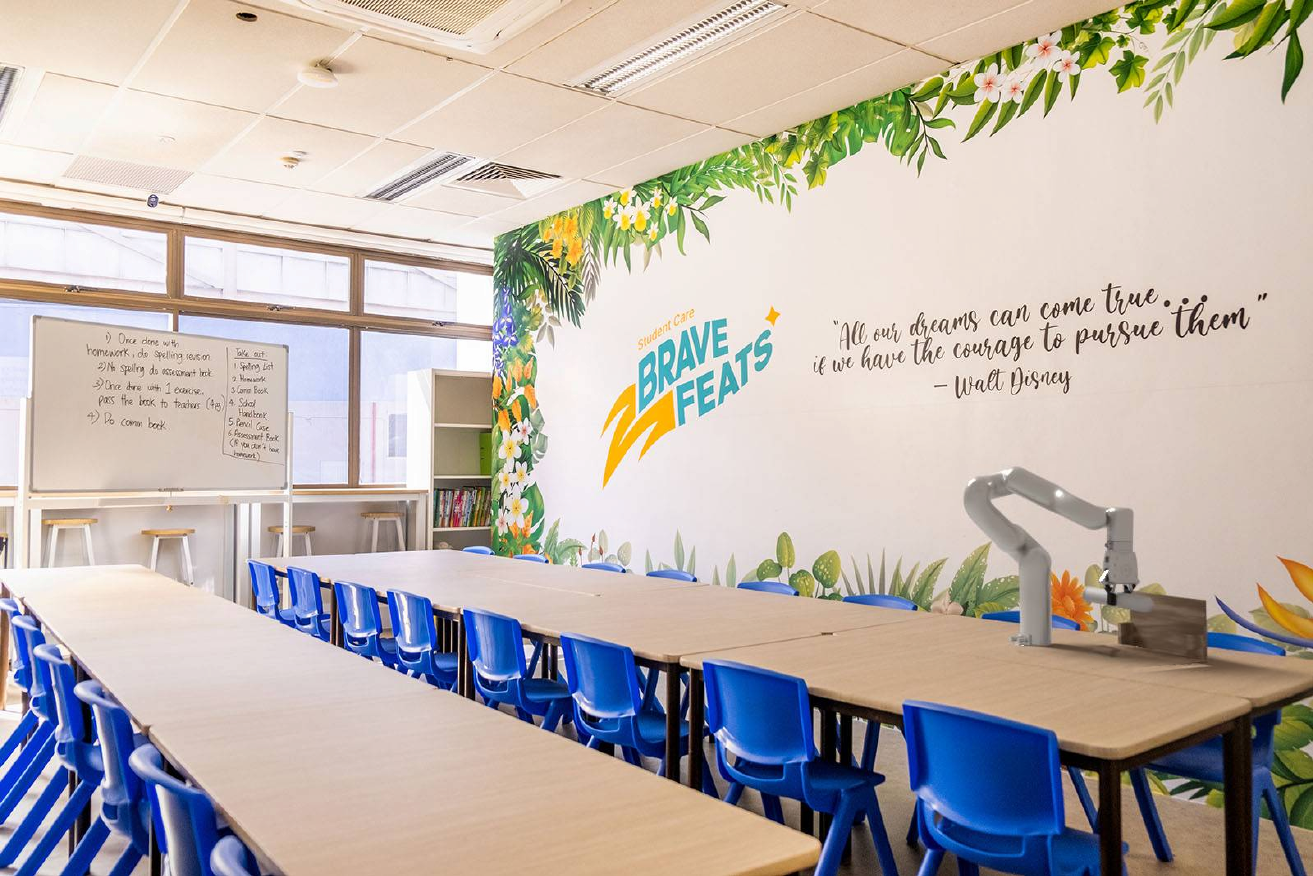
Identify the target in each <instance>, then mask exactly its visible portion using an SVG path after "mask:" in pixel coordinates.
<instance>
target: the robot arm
mask: <svg viewBox="0 0 1313 876" xmlns="http://www.w3.org/2000/svg"><path fill="white" fill-rule="evenodd" d="M1011 495H1017V496H1019V497H1021V498H1022V499H1025V500H1027V501H1029V502H1031V503H1033V504H1036V505H1037V506H1039V507H1041V508H1043V509H1045V510H1047V511H1049V512H1052V513H1054V514H1057V515H1059V516H1061V517H1063V518H1064V519H1067V520H1069V521H1070V522H1074V523H1075V524H1077V525H1079V526H1081V527H1083V528H1085V529H1087V530H1090V531H1099V530H1101V529H1106V542H1105V543H1104V547H1105V548H1106V550H1105V552H1104V555H1103V561H1102V571H1101V572H1102V576H1101V577H1100V578H1099V580H1098V583H1099V584H1100V586H1102V589H1105V591H1106V592H1107V605H1106V606H1108V605H1110V606H1109V607H1114V606H1116V593H1114V592H1115V591H1116V587H1117V585H1122V589H1123V591H1121V592H1122V593H1128V594H1131V593H1133V591H1135V588H1136V586H1138V585H1139V584H1140V582H1141V581H1140V580H1139V572H1138V570H1139V567H1138V558H1137V556H1136V552H1135V551H1134V518H1135V517H1134V510H1133V509H1132V508H1130V507H1119V506H1117V507H1115V506H1113V507H1104V506H1099V505H1094V504H1093V503H1091V502H1088V501H1086V500H1084V499H1083V498H1080V497H1078V496H1076V495H1074V494H1072V493H1071V492H1069V491H1067V490H1066V489H1065V488H1063V487H1062V486H1060V485H1058V484H1056V483H1054V482H1052V481H1050V480H1048V479H1046V478H1043V477H1041V476H1039V475H1037V474H1036V473H1033V472H1032V471H1030V470H1027V469H1025V468H1023V467H1020V466H1012V467H1009V468H1007V469H1005V470H1001V471H998V472H992V473H988V474H984V475H978V476H974V477H972V478H971V479H970V480H969V481H968V482H967V484H966V485H965V488H964V491H963V505H964V508H965V511H966V514H967V515H968V516H969V518H970V519H971V520H972V522H973V523H974V524H975V525H976V526H977V527H978V528H979V529H980V530H981V531H982V532H983V533H984V534H985V535H986V536H987V538H989V539H990V540H991V541H992V542H993V543H994V544H995V545H996V547H997V549H999V550H1001V551H1002V552H1004V553H1006V554H1007V555H1008V556H1010V557H1011V558H1012V559H1013V561H1015V562H1016V563H1017V564H1018V581H1019V583H1018V584H1019V626H1020V627H1019V628H1020V629H1019V632H1017V634H1016V635H1009V636H1008V637H1007V641H1008V643H1015V644H1014V645H1015V647H1022V646H1029V647H1030V646H1035V647H1036V646H1039V647H1047V646H1052V645H1053V644H1055V643H1054V642H1053V628H1052V627H1053V626H1052V625H1053V624H1052V623H1053V622H1052V616H1053V615H1052V611H1053V610H1052V573H1051V572H1052V562H1053V561H1052V557H1051V554H1050V552H1049V551H1048V550H1046V549H1045V548H1044V547H1043V546H1042V545H1041V544H1040V543H1039V542H1038V541H1037V540H1035V538H1034V537H1033V536H1031V535H1030V533H1029V532H1027V531H1026V530H1025V529H1024V528H1023V527H1022V526H1020V525H1019V524H1017V523H1013V522H1012V521H1010V520H1009V519H1008V518H1007V517H1006V516H1005V515H1004V514H1003V513H1002V512H1001V511H1000V510H999V509H998V508H997V507H996V506H995V505H994V504H993V503H992V500H995V499H1000V498H1003V497H1007V496H1011Z"/></svg>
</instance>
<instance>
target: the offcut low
mask: <svg viewBox="0 0 1313 876" xmlns="http://www.w3.org/2000/svg"><path fill="white" fill-rule="evenodd" d="M1089 653H1091V654H1095V655H1099V656H1104V657H1108V658H1111V657H1110V656H1106V655H1102V654H1098V653H1094V652H1092V651H1089ZM1121 657H1122V658H1123V657H1124V658H1125V656H1124V655H1122V656H1114V657H1113V658H1121Z"/></svg>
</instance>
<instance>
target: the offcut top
mask: <svg viewBox="0 0 1313 876" xmlns="http://www.w3.org/2000/svg"><path fill="white" fill-rule="evenodd" d="M1091 648H1092V649H1091V652H1094V653H1093V654H1095V653H1098V654H1097V655H1099V654H1102V655H1101V656H1103V655H1106V656H1105V657H1108V656H1110V657H1109V658H1115V657H1114V656H1123V653H1122V651H1123V650H1122V649H1123V648H1122V649H1121V648H1117V647H1112V646H1109V645H1105V644H1103V645H1102V644H1099V645H1092V646H1091Z"/></svg>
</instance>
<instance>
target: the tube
mask: <svg viewBox="0 0 1313 876" xmlns="http://www.w3.org/2000/svg"><path fill="white" fill-rule="evenodd" d="M1122 592H1123V591H1117V590H1115V592H1114V593H1116V606H1113V607H1114V608H1115V607H1116V608H1119V609H1125V610H1129V611H1130V610H1134V611H1139V612H1144V613H1147V612H1151V611H1152V610H1153V609H1154V608H1155V606H1154V602H1153V601H1152V599H1151V598H1149V597H1145V596H1139V595H1134V594H1128V593H1122ZM1081 594H1082V598H1081V599H1083V600H1084V602H1086V603H1092V604H1093V603H1094V604H1099V605H1103V606H1109V607H1111V606H1110V605H1107V592H1106V591H1105V589H1104V588H1099V587H1094V586H1092V585H1089V586H1088V585H1085V587H1084V589H1083V590H1082V593H1081Z"/></svg>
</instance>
